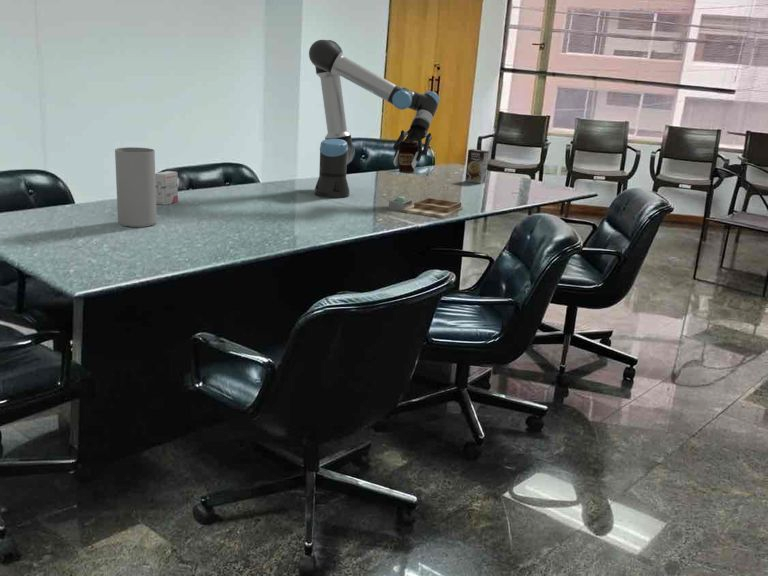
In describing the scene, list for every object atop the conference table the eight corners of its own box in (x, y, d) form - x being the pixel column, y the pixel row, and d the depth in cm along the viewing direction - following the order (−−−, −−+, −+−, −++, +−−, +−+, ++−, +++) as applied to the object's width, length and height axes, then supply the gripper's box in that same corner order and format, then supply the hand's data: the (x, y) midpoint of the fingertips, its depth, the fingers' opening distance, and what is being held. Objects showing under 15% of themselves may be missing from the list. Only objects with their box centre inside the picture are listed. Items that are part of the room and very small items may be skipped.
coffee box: (464, 181, 392) (467, 149, 387) (470, 180, 397) (473, 148, 393) (480, 183, 388) (484, 151, 383) (486, 182, 393) (489, 150, 388)
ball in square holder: (388, 209, 312) (389, 200, 311) (395, 206, 318) (396, 198, 317) (404, 211, 309) (404, 202, 308) (411, 208, 316) (411, 200, 314)
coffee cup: (414, 175, 317) (417, 143, 313) (394, 173, 318) (397, 141, 314) (417, 172, 325) (420, 141, 321) (398, 170, 326) (401, 139, 322)
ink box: (168, 200, 303) (167, 170, 299) (178, 201, 301) (178, 171, 298) (154, 203, 295) (153, 173, 291) (165, 205, 293) (164, 174, 290)
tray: (401, 211, 308) (402, 204, 307) (422, 203, 328) (423, 196, 327) (443, 218, 301) (444, 210, 300) (462, 209, 321) (463, 202, 320)
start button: (394, 205, 313) (394, 197, 312) (397, 204, 316) (398, 196, 315) (402, 207, 311) (403, 198, 310) (405, 205, 314) (406, 197, 313)
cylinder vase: (138, 218, 270) (136, 146, 263) (164, 223, 264) (162, 150, 257) (110, 223, 260) (106, 149, 252) (136, 229, 254) (133, 153, 247)
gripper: (397, 114, 328) (379, 156, 318) (442, 119, 320) (424, 162, 311) (401, 126, 334) (383, 168, 325) (445, 131, 326) (428, 173, 317)
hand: (403, 165), depth 318 cm, fingers closed on coffee cup, 7 cm apart
